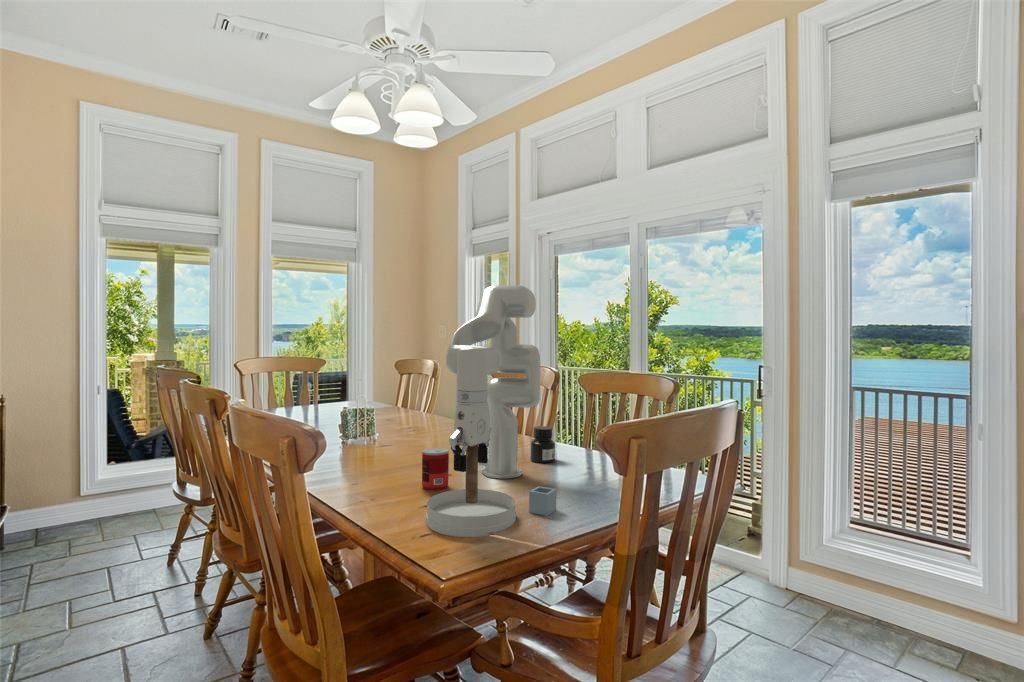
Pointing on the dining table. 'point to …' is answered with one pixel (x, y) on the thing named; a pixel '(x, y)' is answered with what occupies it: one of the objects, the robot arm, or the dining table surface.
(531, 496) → the cup
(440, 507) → the dish
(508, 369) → the robot arm
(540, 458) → the ink bottle
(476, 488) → the dowel
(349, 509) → the dining table surface
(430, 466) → the canned food
